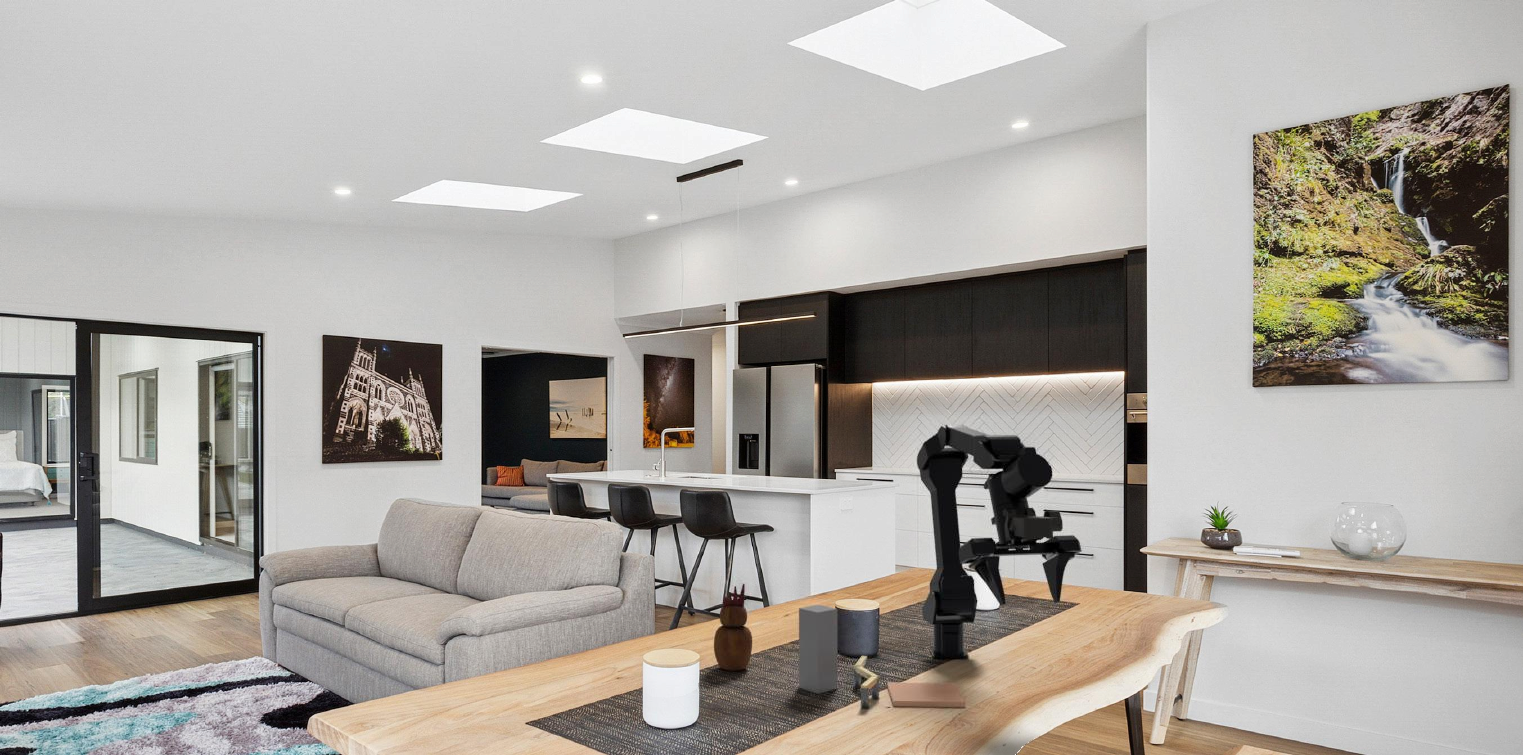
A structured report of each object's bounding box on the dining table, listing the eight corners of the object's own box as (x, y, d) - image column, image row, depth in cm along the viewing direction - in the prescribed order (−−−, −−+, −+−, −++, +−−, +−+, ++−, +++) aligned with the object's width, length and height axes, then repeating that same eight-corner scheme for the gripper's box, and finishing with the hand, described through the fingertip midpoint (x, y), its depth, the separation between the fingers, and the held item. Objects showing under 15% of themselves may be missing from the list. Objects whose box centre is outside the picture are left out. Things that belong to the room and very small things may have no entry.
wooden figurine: (756, 666, 162) (756, 582, 162) (745, 674, 156) (745, 587, 157) (721, 663, 164) (721, 580, 165) (709, 671, 158) (709, 585, 159)
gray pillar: (799, 687, 148) (798, 608, 149) (818, 682, 151) (818, 604, 152) (817, 693, 145) (817, 612, 146) (837, 688, 148) (837, 608, 149)
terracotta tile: (887, 687, 149) (887, 682, 149) (954, 688, 148) (954, 683, 148) (893, 706, 139) (893, 700, 139) (965, 707, 138) (965, 701, 138)
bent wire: (851, 675, 156) (851, 655, 156) (873, 676, 155) (873, 655, 156) (857, 708, 137) (857, 685, 138) (882, 709, 137) (881, 686, 137)
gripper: (977, 492, 137) (997, 594, 131) (1087, 490, 141) (1111, 589, 135) (950, 514, 147) (967, 610, 141) (1053, 511, 151) (1074, 605, 144)
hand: (1030, 603), depth 140 cm, fingers open, 9 cm apart
